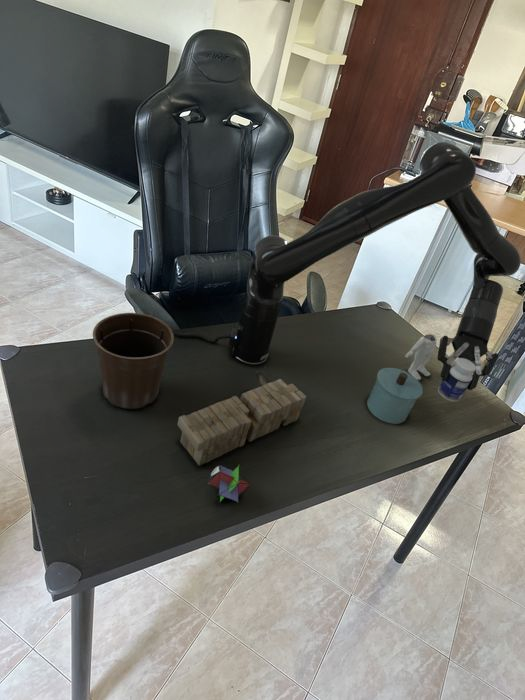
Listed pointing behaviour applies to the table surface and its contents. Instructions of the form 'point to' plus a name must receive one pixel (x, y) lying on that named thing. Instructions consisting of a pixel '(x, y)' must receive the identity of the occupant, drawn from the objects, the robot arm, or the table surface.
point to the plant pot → (132, 357)
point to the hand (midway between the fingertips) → (456, 384)
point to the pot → (394, 395)
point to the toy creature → (422, 355)
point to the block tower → (239, 420)
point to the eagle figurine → (262, 378)
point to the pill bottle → (457, 380)
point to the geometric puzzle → (228, 483)
